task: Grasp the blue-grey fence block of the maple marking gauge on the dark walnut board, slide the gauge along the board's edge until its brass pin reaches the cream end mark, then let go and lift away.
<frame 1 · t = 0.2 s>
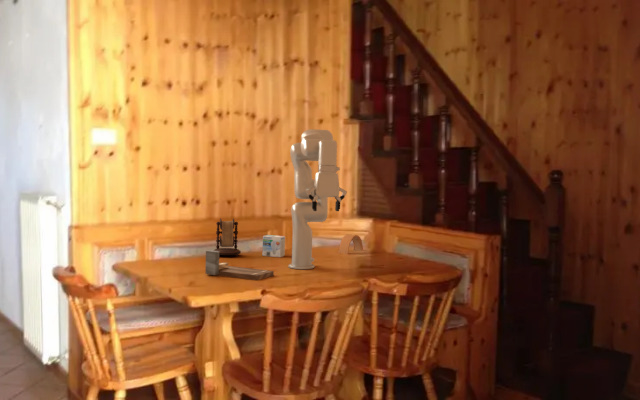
hand: (326, 211, 276), 31 cm above the table, tool pointing down, fingers open, 9 cm apart
marking gauge: (218, 261, 297), point 6 cm above the table, slide at 0.0 cm
walnut board: (240, 274, 297), on the table
arch: (350, 252, 381), on the table
light bulb box: (273, 256, 357), on the table
scroll: (226, 256, 353), on the table
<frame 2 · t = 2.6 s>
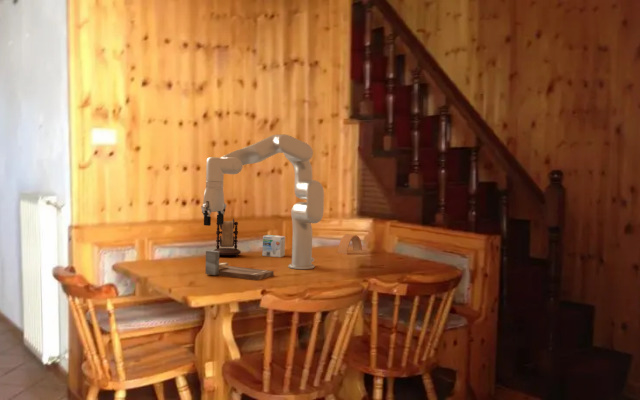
hand: (213, 224, 291), 23 cm above the table, tool pointing down, fingers open, 9 cm apart
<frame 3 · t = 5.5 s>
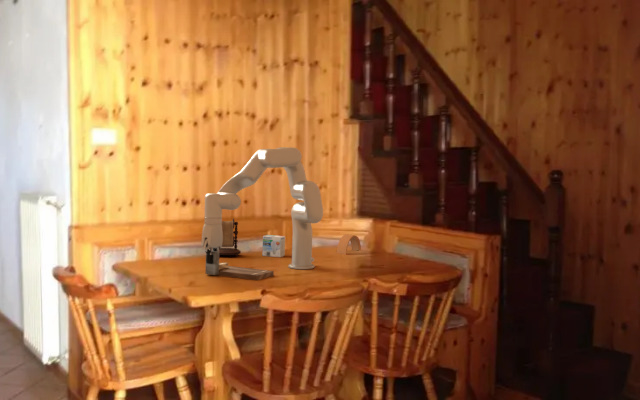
hand: (212, 262, 293), 6 cm above the table, tool pointing down, fingers closed on marking gauge, 3 cm apart
marking gauge: (218, 261, 297), point 6 cm above the table, slide at 0.0 cm, touching gripper
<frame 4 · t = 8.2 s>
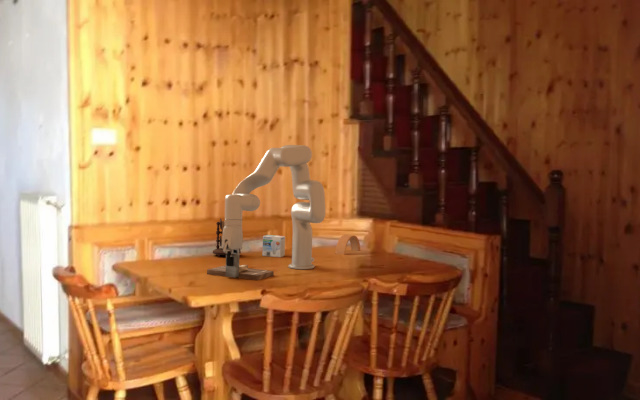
hand: (232, 265, 288), 6 cm above the table, tool pointing down, fingers closed on marking gauge, 3 cm apart
marking gauge: (238, 263, 292), point 6 cm above the table, slide at 10.5 cm, touching gripper
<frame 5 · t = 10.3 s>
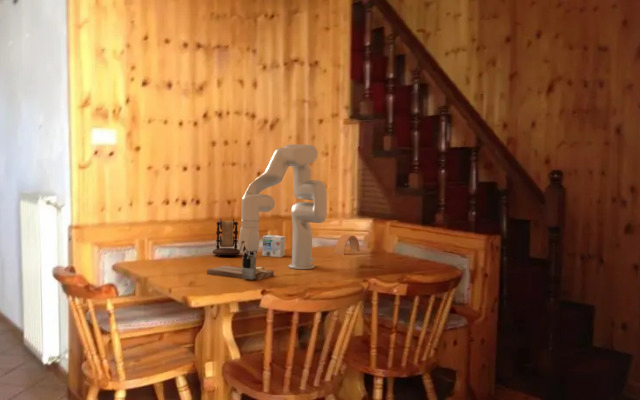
hand: (249, 266, 284), 6 cm above the table, tool pointing down, fingers closed on marking gauge, 3 cm apart
marking gauge: (254, 265, 289), point 6 cm above the table, slide at 18.9 cm, touching gripper
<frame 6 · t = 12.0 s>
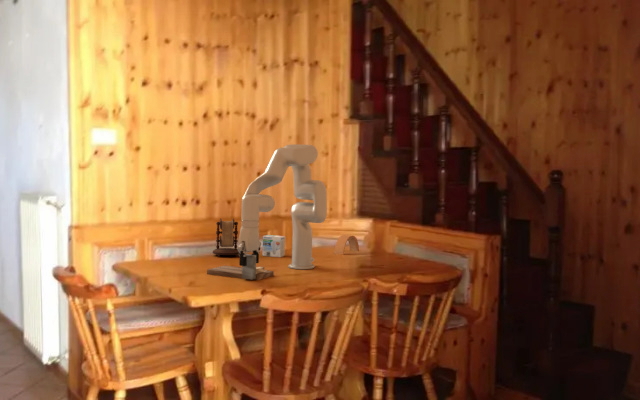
hand: (249, 264, 284), 7 cm above the table, tool pointing down, fingers open, 9 cm apart
marking gauge: (254, 265, 289), point 6 cm above the table, slide at 19.0 cm
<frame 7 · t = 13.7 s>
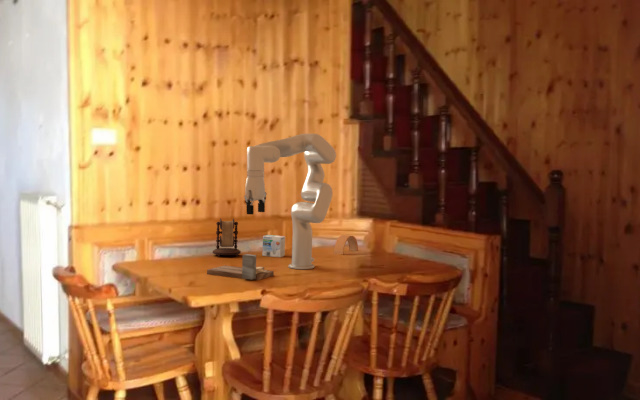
hand: (255, 213, 294), 28 cm above the table, tool pointing down, fingers open, 9 cm apart
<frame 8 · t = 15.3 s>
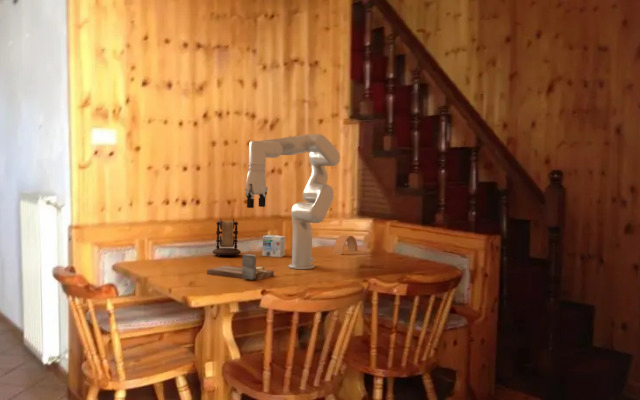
hand: (256, 207, 297), 30 cm above the table, tool pointing down, fingers open, 9 cm apart
at the end: marking gauge slide at 19.0 cm; the gripper is holding nothing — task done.
